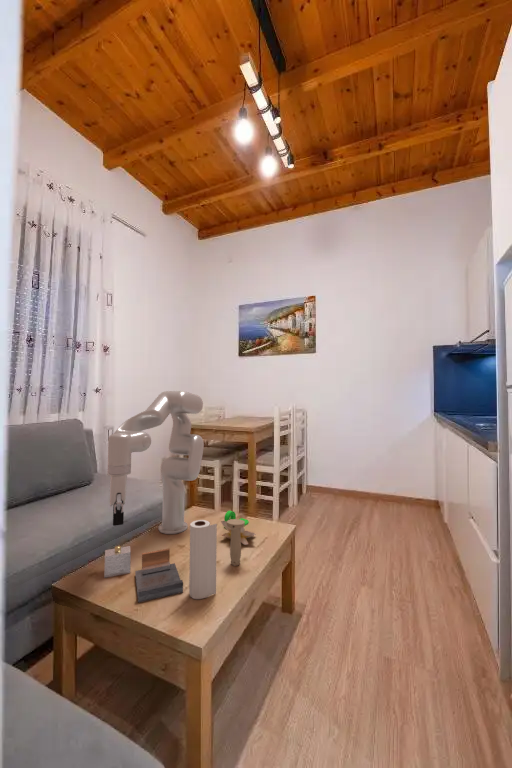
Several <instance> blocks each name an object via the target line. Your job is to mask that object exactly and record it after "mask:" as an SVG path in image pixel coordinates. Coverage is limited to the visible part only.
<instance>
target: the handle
mask: <svg viewBox="0 0 512 768" xmlns="http://www.w3.org/2000/svg"><path fill="white" fill-rule="evenodd" d="M239 519H240V518H239ZM239 519H237V518H236V519H230V520H228V521H227V526H228V527H230V528H231V538H230V543H229V544H230V545H229V556H230V557H229V558H230V565H231V566H233V567H236V566H240V564H241V556H242V542H241V536H240V529H241V528H243V527H244V528H245V526H246V525H245V521H243V520H239ZM244 525H245V526H244Z"/></svg>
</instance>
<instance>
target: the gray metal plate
mask: <svg viewBox="0 0 512 768" xmlns="http://www.w3.org/2000/svg"><path fill="white" fill-rule="evenodd" d="M170 565H171V569H167V570H162V571H157V572H152V573H147V574H142V569H139V570H135V573H134V574H135V585H136V594H137V603H143V602H147V601H152V600H156V599H160V598H166V597H169V596H173V595H177V594H182V593H184V581H183V579H181V578H180V573H179V571H178V568H177V565H176V563H175V562H174V563H170Z"/></svg>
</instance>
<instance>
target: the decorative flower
mask: <svg viewBox="0 0 512 768" xmlns="http://www.w3.org/2000/svg"><path fill="white" fill-rule="evenodd" d="M220 523H221V524H222V526H223V528H224V527H225V529H226V530H227V531H228V532H225V533H223V534H220V536H222V537H225V538H227V539H230V540H231V528H230V527H228V526H227V522H226V521H224V520H222V521H220ZM240 536H241V544H242V545H249V542H248V540H247V539H248V538H252V537H254V536H256V533H255V532H252V531H249V530H245V526H244V527H243V528H241V529H240Z"/></svg>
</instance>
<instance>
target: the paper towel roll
mask: <svg viewBox="0 0 512 768" xmlns="http://www.w3.org/2000/svg"><path fill="white" fill-rule="evenodd" d="M217 525H218V524H217V523H215V524H211V522H210V521H208V520H205V519H197V520H193V521H192V522H190V523H189V579H188V580H189V583H188V584H189V586H188V590H189V591H188V593H189V597H190V598H191V599H194V600H201V599H206V598H208V597H210V596H212V595H215V594H217V546H218V545H217V536H218V535H217V529H218V527H217Z"/></svg>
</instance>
